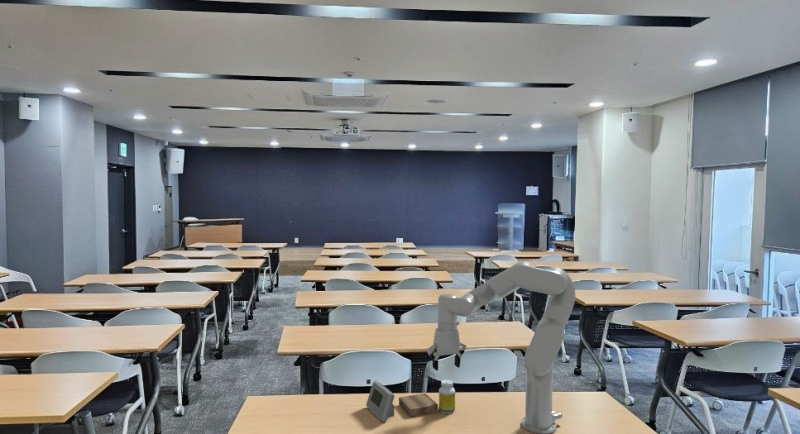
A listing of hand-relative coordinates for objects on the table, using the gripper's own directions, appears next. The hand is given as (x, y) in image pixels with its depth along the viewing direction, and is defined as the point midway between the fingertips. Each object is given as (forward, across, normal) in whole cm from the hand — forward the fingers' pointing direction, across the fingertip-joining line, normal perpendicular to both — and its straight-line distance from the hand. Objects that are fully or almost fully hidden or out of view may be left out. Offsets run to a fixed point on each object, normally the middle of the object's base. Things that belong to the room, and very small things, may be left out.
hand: (446, 367), depth 185 cm
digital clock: (+18, +26, -7) cm, 32 cm away
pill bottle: (+18, 0, 0) cm, 18 cm away
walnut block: (+17, +10, -6) cm, 21 cm away
